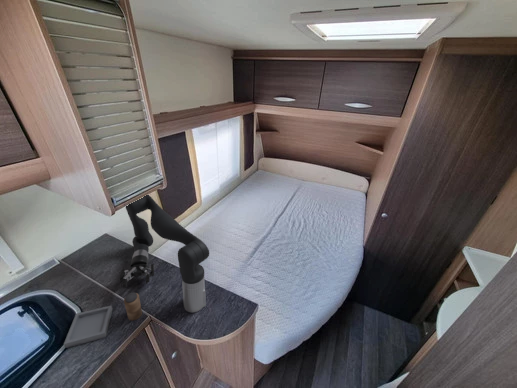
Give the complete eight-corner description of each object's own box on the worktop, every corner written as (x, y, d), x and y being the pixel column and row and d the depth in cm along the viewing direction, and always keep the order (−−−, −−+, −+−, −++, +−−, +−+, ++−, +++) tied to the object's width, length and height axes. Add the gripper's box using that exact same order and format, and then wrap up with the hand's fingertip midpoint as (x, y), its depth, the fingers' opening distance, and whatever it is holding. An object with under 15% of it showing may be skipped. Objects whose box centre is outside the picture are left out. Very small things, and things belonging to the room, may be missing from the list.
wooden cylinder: (142, 307, 90) (139, 289, 86) (141, 318, 86) (137, 300, 81) (129, 311, 88) (124, 292, 84) (127, 322, 84) (122, 303, 79)
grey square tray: (112, 309, 88) (111, 305, 87) (105, 337, 78) (104, 333, 77) (77, 317, 83) (76, 313, 82) (65, 348, 74) (63, 344, 73)
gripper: (122, 257, 102) (115, 282, 89) (154, 252, 107) (152, 275, 94) (125, 268, 105) (118, 294, 92) (155, 263, 111) (154, 286, 97)
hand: (136, 284), depth 93 cm, fingers open, 8 cm apart
